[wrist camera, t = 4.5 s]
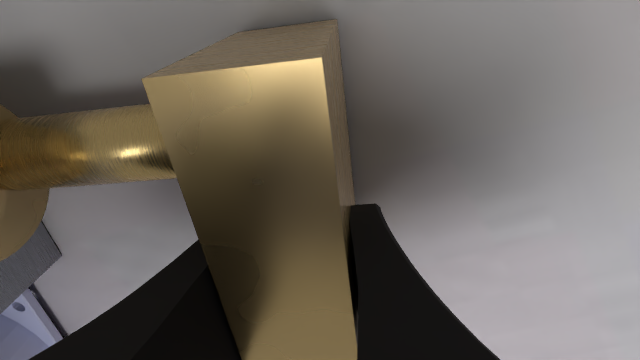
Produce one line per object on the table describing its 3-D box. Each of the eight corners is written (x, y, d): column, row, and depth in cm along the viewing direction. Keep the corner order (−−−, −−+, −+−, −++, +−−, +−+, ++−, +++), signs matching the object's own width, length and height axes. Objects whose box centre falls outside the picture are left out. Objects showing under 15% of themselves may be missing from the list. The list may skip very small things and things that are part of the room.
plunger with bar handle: (359, 246, 12) (362, 406, 8) (-35, 265, 14) (-217, 400, 10) (336, 18, 9) (319, 64, 4) (-173, 86, 11) (-548, 165, 6)
